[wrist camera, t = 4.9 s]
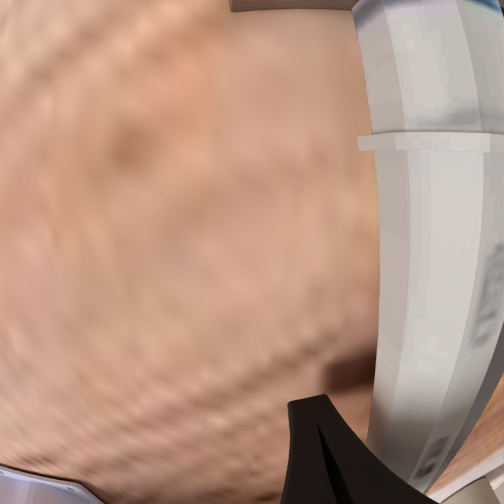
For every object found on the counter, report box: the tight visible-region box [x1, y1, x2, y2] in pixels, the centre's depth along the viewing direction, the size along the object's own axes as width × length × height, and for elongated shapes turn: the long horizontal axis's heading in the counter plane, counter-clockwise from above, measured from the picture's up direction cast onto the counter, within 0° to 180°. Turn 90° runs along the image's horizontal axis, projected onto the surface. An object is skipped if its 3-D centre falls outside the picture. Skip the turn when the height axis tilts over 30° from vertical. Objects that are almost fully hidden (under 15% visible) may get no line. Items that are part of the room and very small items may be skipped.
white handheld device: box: [352, 0, 504, 493], centre depth 10 cm, size 5×7×25 cm
